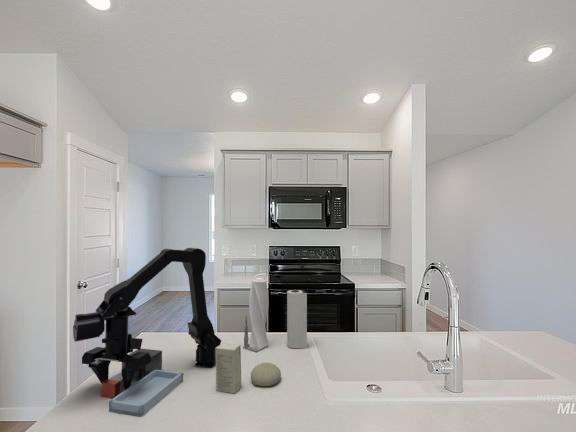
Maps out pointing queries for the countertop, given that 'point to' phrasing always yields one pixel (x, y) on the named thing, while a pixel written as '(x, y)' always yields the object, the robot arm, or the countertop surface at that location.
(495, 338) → the countertop surface
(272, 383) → the sea urchin shell
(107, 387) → the pin
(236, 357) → the skincare box
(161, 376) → the tray
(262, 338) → the skyscraper
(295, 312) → the paper towel roll
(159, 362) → the block
